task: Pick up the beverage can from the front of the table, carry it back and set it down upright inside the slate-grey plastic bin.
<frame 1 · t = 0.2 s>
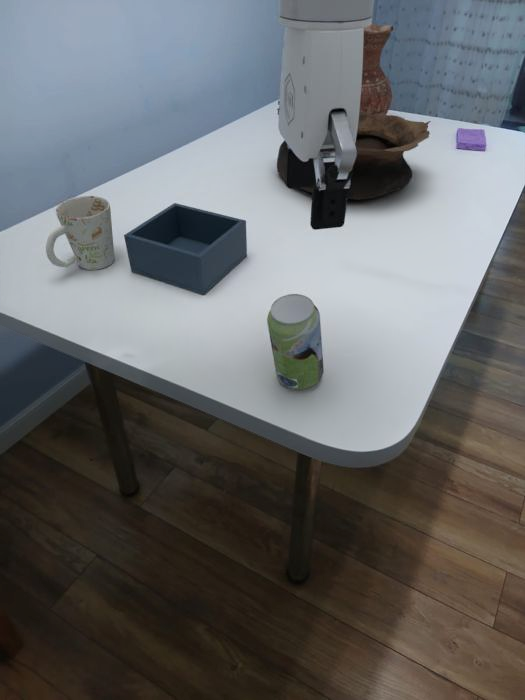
hand: (312, 205, 51), 22 cm above the table, tool pointing down, fingers open, 9 cm apart
mug: (87, 267, 84), on the table
bin: (190, 264, 85), on the table
beverage can: (294, 380, 63), on the table
bowl: (345, 180, 112), on the table
sponge: (469, 143, 131), on the table
jug: (347, 129, 140), on the table
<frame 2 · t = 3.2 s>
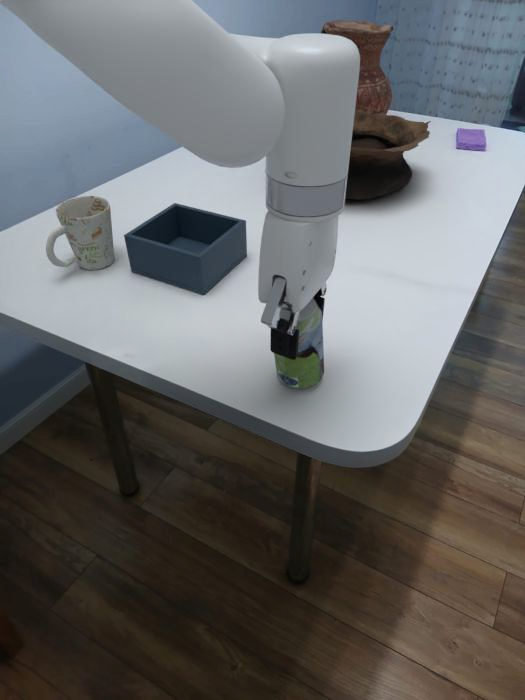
hand: (297, 336, 58), 7 cm above the table, tool pointing down, fingers closed on beverage can, 6 cm apart
beverage can: (295, 379, 63), on the table, touching gripper
everything else where it was.
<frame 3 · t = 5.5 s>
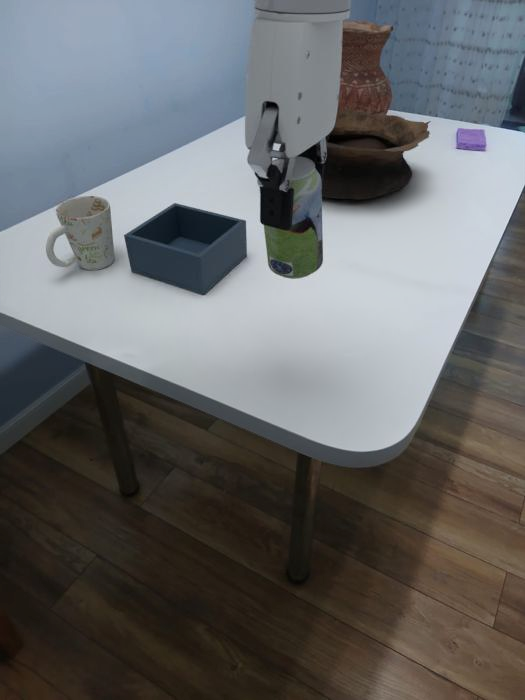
hand: (291, 211, 50), 22 cm above the table, tool pointing down, fingers closed on beverage can, 6 cm apart
beverage can: (289, 273, 55), point 15 cm above the table, touching gripper
everything else where it was.
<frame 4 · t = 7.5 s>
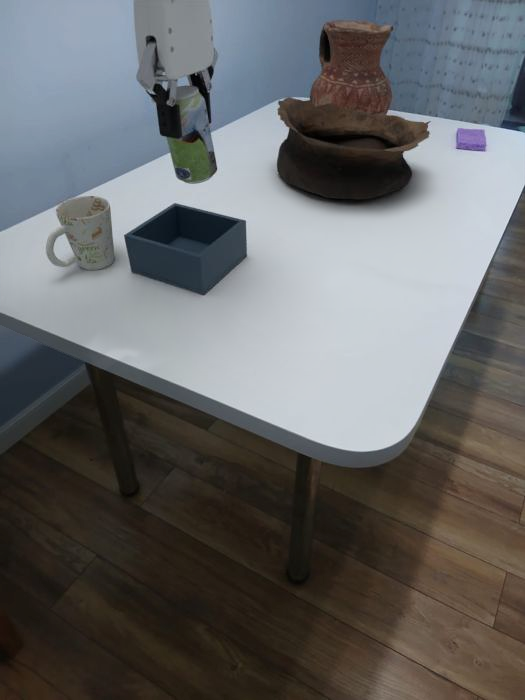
hand: (186, 128, 66), 23 cm above the table, tool pointing down, fingers closed on beverage can, 6 cm apart
beverage can: (192, 181, 71), point 16 cm above the table, touching gripper
everything else where it was.
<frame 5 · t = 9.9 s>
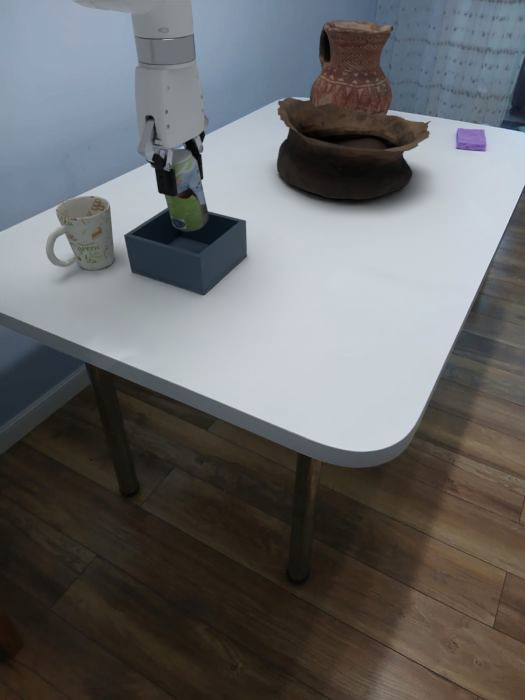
hand: (181, 185, 75), 14 cm above the table, tool pointing down, fingers closed on beverage can, 6 cm apart
beverage can: (187, 228, 81), point 6 cm above the table, touching gripper
everything else where it was.
when the fingers open (8 cm above the table, at t = 11.8 s): beverage can stays where it is, resting on bin.
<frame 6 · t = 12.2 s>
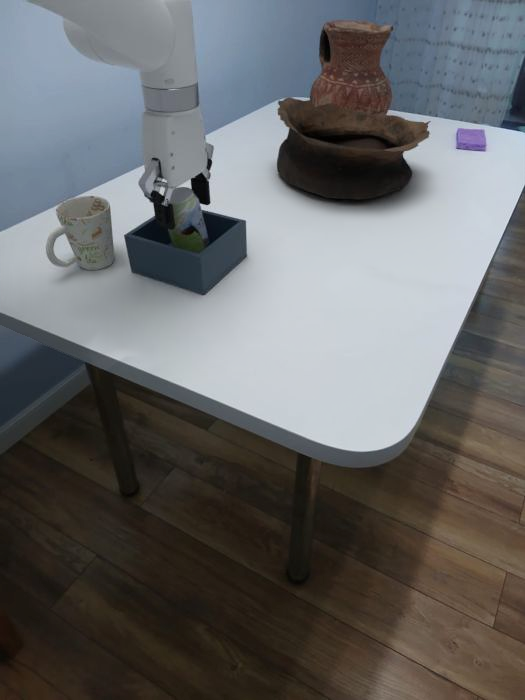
hand: (184, 214, 79), 9 cm above the table, tool pointing down, fingers open, 9 cm apart
beverage can: (190, 260, 84), point 1 cm above the table, touching bin
everything else where it was.
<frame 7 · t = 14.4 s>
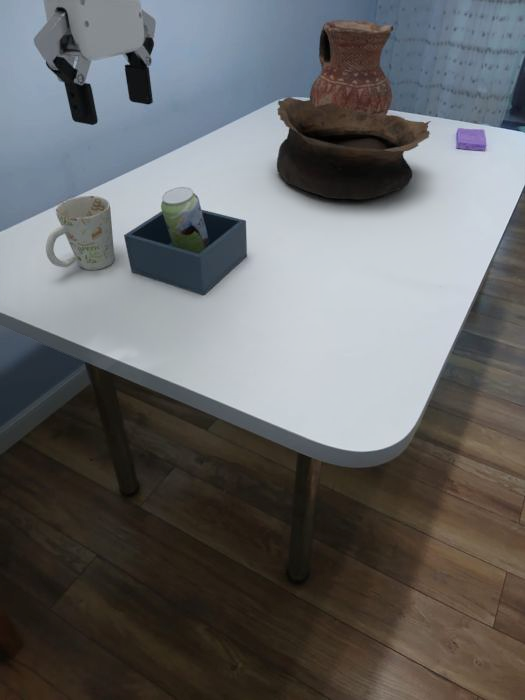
hand: (115, 112, 58), 27 cm above the table, tool pointing down, fingers open, 9 cm apart
nothing on the table moved.
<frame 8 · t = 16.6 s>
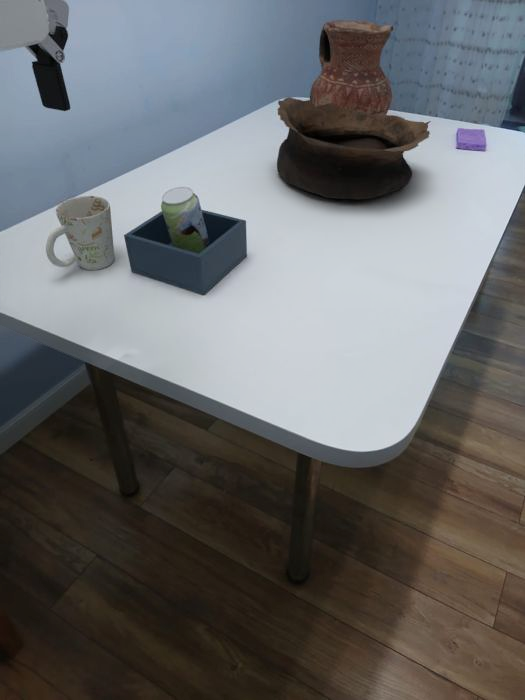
hand: (17, 122, 46), 30 cm above the table, tool pointing down, fingers open, 9 cm apart
nothing on the table moved.
at the end: beverage can inside the target area in the bin (0.3 cm from its centre), point 0.6 cm above the bin's base; beverage can tilted 0°; the gripper is holding nothing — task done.
